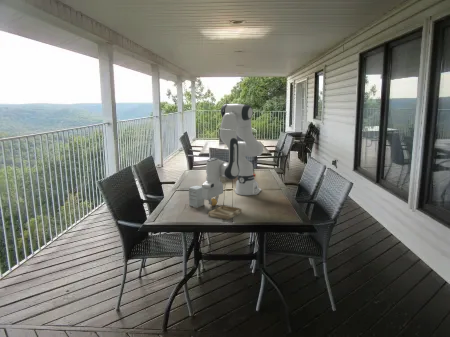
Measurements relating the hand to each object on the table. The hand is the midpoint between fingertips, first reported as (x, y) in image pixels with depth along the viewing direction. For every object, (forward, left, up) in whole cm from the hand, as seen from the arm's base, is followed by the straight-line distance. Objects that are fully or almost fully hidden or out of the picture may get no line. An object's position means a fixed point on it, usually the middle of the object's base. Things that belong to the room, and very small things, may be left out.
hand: (213, 203), depth 232 cm
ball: (0, 0, +1) cm, 1 cm away
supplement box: (+5, -10, -2) cm, 11 cm away
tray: (+11, +16, -2) cm, 20 cm away
